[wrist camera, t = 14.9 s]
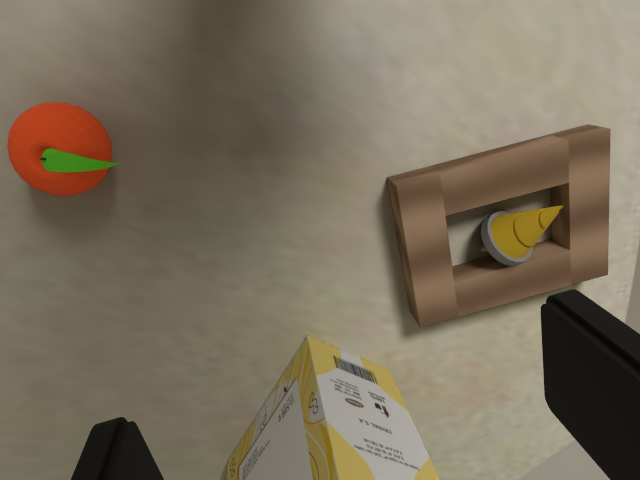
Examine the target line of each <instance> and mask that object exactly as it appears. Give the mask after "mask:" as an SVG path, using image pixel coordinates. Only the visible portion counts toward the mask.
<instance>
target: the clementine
mask: <svg viewBox="0 0 640 480" xmlns="http://www.w3.org/2000/svg"><path fill="white" fill-rule="evenodd" d="M8 153H9V158H10V161H11V163H12V165H13V167H14V169H15V170H16V172H17V173H18V174H19V175H20V177H21V178H22V179H23V180H24V181H26V182H27V183H28V184H29V185H31V186H32V187H34V188H36V189H38V190H40V191H43V192H45V193H49V194H53V195H57V196H71V195H76V194H80V193H83V192H86V191H87V190H89V189H91V188H93V187H95V186H96V185H97V184H98V183H99V182H100V181H101V180H102V179H103V178H104V177H105V175H106V173H107V171H108V169H109V168H110V167H114V166H116V165H119V164H121V163H112V162H111V159H112V147H111V142H110V139H109V136H108V134H107V132H106V130H105V129H104V127H103V126H102V124H101V123H100V122H99V121H98V120H97V119H96V118H95V117H94V116H93V115H91V114H90V113H88V112H87V111H85V110H83V109H81V108H80V107H77V106H73V105H70V104H66V103H50V102H49V103H45V104H40V105H36V106H34V107H33V108H31V109H29V110H27V111H25V112H24V113H23V114H21V115H20V116H19V118H18V119H17V120H16V121H15V122H14V123H13V125H12V128H11V130H10V132H9V138H8Z"/></svg>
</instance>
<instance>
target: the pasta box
mask: <svg viewBox="0 0 640 480" xmlns="http://www.w3.org/2000/svg"><path fill="white" fill-rule="evenodd" d="M227 480H440V479H439V477H438V475H437V473H436V471H435V468H434V466H433V464H432V462H431V460H430V458H429V455H428V453H427V451H426V449H425V447H424V445H423V442H422V440H421V438H420V436H419V434H418V431H417V429H416V427H415V425H414V423H413V421H412V418H411V416H410V414H409V412H408V410H407V408H406V405H405V403H404V401H403V399H402V397H401V394H400V392H399V390H398V388H397V386H396V384H395V381H394V379H393V377H392V375H391V373H390V370H388V369H386V368H384V367H381V366H379V365H377V364H374V363H372V362H369V361H367V360H365V359H362V358H360V357H358V356H355V355H353V354H351V353H348V352H346V351H343V350H341V349H339V348H336V347H334V346H332V345H329V344H327V343H325V342H322V341H320V340H318V339H315V338H313V337H310V336H308V335H307V336H306V338H305V339H304V341H303V343H302V344H301V346H300V347H299V349H298V350H297V352H296V354H295V355H294V357H293V358H292V360H291V361H290V363H289V365H288V366H287V368H286V369H285V371H284V373H283V374H282V376H281V377H280V379H279V380H278V382H277V384H276V385H275V387H274V388H273V390H272V391H271V393H270V395H269V396H268V398H267V399H266V401H265V403H264V404H263V406H262V407H261V409H260V410H259V412H258V414H257V415H256V417H255V418H254V420H253V421H252V423H251V425H250V426H249V428H248V429H247V431H246V433H245V434H244V436H243V437H242V439H241V440H240V442H239V444H238V445H237V447H236V448H235V450H234V451H233V453H232V455H231V456H230V458H229V459H228V461H227Z"/></svg>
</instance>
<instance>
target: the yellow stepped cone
mask: <svg viewBox="0 0 640 480" xmlns="http://www.w3.org/2000/svg"><path fill="white" fill-rule="evenodd" d="M562 208H563V206H555V207H548V208H541V209H534V210H528V211H521V212H514V213H509V212H506V211H498V212H495V213H493V214H492V215H490V216H489V217H487V218H486V219H485V220H484V222H483V223H482V227H481V236H482V240H483V243H484V245H483V246H482V248H481V249H480V251H485V252H489V253H490V254H491V255H492V256H493V257H494V258H495V259H496V260H498V261H499V262H501V263H503V264H505V265H509V266H514V265H518V264H520V263H522V262H524V261H525V260H527V259H528V258H529V257H530V256H531V254H532V250H533V246H534V244H535V243H536V242H537V241H538V239H539V238H540V237H541V235H542V234H543V233H544V231H545V230H546V228H548V226H549V225H550V224H551V222H552V221H553V220H554V218H555V217H556V216H557V214H558V213H559V210H561V209H562Z"/></svg>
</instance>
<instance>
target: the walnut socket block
mask: <svg viewBox="0 0 640 480" xmlns="http://www.w3.org/2000/svg"><path fill="white" fill-rule="evenodd" d="M609 179H610V129H608V128H603V127H598V126H593V125H584V126H580V127H576V128H572V129H569V130H565V131H561V132H557V133H553V134H550V135H546V136H542V137H538V138H534V139H531V140H527V141H523V142H519V143H516V144H512V145H508V146H504V147H500V148H497V149H493V150H489V151H485V152H481V153H478V154H474V155H470V156H466V157H463V158H459V159H455V160H451V161H447V162H444V163H440V164H436V165H432V166H428V167H425V168H421V169H417V170H413V171H410V172H406V173H402V174H398V175H394V176H391V177H387V181H388V187H389V192H390V198H391V204H392V210H393V215H394V221H395V227H396V233H397V238H398V244H399V250H400V255H401V261H402V267H403V273H404V278H405V284H406V290H407V295H408V301H409V307H410V313H411V314H412V316H413V317H414V319H415V320H416V322H417V323H418V325H419V326H420V328H421V327H424V326H428V325H431V324H435V323H438V322H442V321H445V320H449V319H453V318H456V317H460V316H463V315H467V314H470V313H474V312H477V311H481V310H484V309H488V308H491V307H495V306H499V305H502V304H506V303H509V302H513V301H516V300H520V299H523V298H527V297H530V296H534V295H537V294H541V293H545V292H548V291H552V290H555V289H559V288H562V287H566V286H569V285H573V284H576V283H580V282H583V281H587V280H591V279H594V278H598V277H601V276H605V275H608V238H609ZM547 188H550V196H551V207H555V206H563V208H562V209H561V210H559V213H558V214H557V216H556V217H555V218H554V220H553V221H552V222H551V225H552V239H550V240H546V241H543V242H539V243H536V244H534V246H533V250H532V254H531V256H530V257H529V258H528V259H527V260H525V261H524V262H522V263H520V264H518V265H514V266H509V265H505V264H503V263H501V262H499V261H498V260H496V259H495V258H494V257H493V256H488V257H485V258H481V259H478V260H474V261H470V262H467V263H463V264H460V265H456V266H452V263H451V255H450V247H449V239H448V232H447V224H446V216H447V215H451V214H454V213H458V212H462V211H465V210H469V209H473V208H477V207H480V206H484V205H488V204H491V203H495V202H499V201H502V200H506V199H510V198H514V197H517V196H521V195H525V194H528V193H532V192H536V191H539V190H543V189H547Z"/></svg>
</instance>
